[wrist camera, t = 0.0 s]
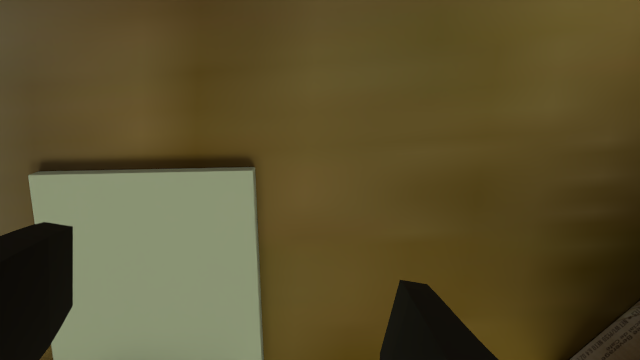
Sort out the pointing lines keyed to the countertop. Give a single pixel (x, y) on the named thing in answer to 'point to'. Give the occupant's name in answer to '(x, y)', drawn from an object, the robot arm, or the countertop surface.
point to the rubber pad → (158, 262)
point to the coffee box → (616, 340)
